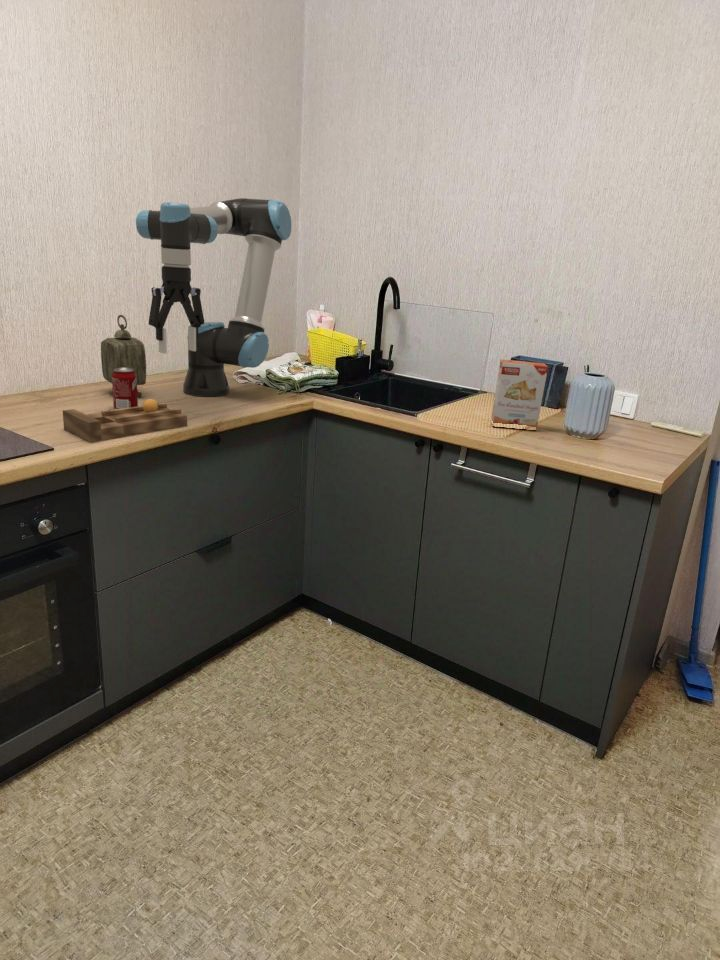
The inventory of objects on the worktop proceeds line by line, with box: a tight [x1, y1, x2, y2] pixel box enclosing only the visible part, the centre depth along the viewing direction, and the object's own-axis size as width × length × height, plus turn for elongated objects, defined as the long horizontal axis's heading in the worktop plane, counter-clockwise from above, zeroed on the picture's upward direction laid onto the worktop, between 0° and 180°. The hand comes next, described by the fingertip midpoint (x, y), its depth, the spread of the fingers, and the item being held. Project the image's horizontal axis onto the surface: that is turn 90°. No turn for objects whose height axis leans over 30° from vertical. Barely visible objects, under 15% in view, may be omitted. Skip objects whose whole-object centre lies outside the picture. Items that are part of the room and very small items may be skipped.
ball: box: [142, 398, 159, 413], centre depth 179 cm, size 4×4×4 cm
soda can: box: [111, 368, 139, 410], centre depth 190 cm, size 7×7×12 cm
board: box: [62, 402, 188, 443], centre depth 174 cm, size 28×14×5 cm, turn 138°
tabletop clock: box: [100, 314, 147, 398], centre depth 205 cm, size 14×9×25 cm, turn 40°
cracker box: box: [490, 359, 549, 428], centre depth 204 cm, size 14×6×21 cm, turn 86°
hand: (177, 351), depth 180 cm, fingers open, 9 cm apart
